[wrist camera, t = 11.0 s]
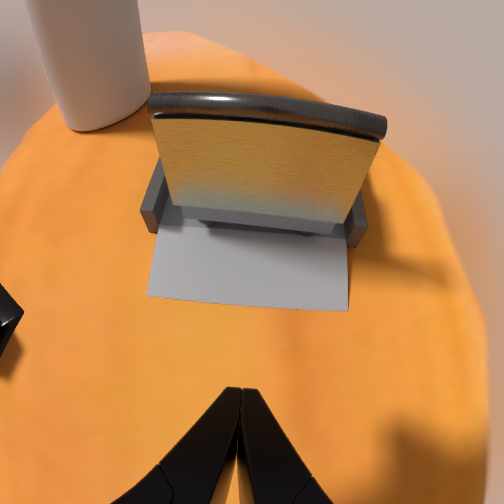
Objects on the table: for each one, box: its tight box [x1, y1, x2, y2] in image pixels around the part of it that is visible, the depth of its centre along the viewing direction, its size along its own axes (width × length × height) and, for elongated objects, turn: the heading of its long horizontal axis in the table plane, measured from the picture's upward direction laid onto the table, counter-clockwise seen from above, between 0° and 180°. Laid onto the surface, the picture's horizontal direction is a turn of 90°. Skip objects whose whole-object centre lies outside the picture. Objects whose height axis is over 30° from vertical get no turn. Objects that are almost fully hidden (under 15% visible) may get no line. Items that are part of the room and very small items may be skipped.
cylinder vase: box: [25, 0, 151, 131], centre depth 20 cm, size 12×12×25 cm
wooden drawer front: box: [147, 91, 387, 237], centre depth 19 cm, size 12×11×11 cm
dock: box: [140, 157, 368, 311], centre depth 22 cm, size 19×16×5 cm
